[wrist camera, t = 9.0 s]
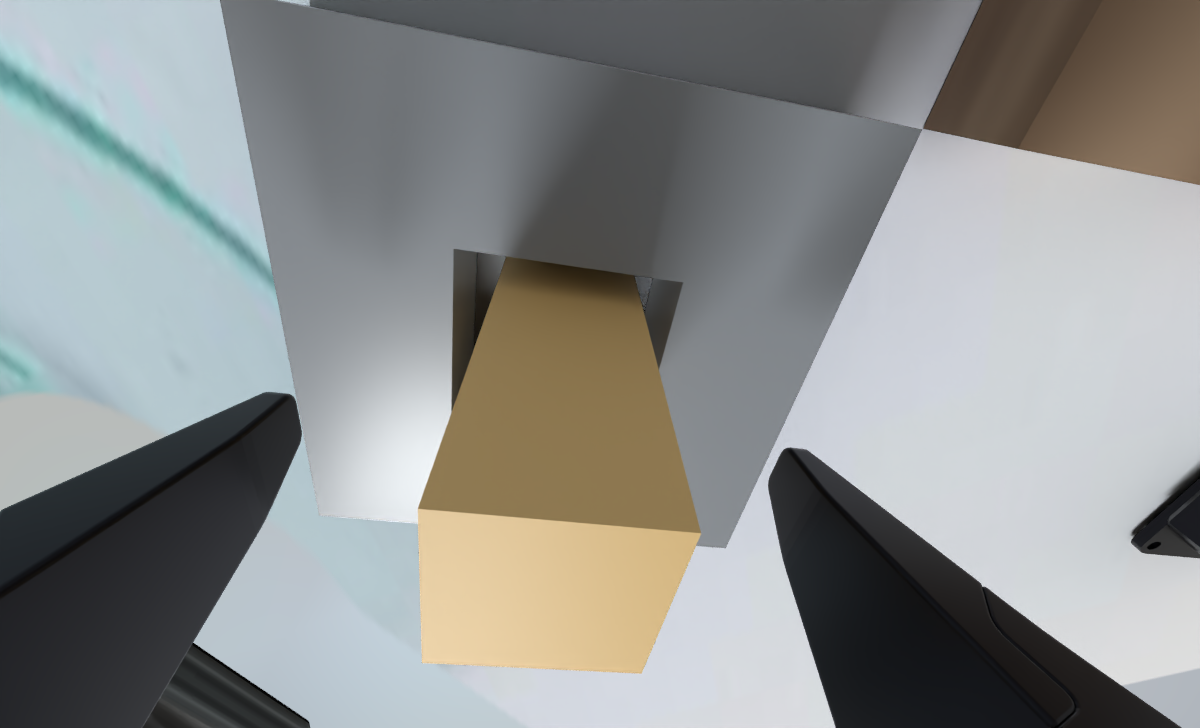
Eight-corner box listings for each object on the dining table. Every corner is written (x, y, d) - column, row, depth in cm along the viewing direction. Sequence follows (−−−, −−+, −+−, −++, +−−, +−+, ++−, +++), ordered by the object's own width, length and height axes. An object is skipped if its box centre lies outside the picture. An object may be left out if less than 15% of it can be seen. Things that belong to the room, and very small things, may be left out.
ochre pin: (630, 260, 13) (701, 533, 6) (608, 359, 15) (641, 672, 7) (511, 241, 13) (417, 508, 5) (503, 345, 15) (421, 663, 7)
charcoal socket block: (846, 113, 12) (922, 129, 9) (704, 478, 18) (725, 547, 15) (308, 6, 10) (218, -11, 8) (359, 444, 16) (319, 515, 14)
